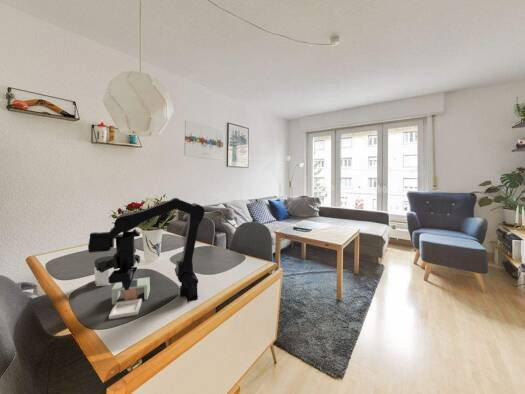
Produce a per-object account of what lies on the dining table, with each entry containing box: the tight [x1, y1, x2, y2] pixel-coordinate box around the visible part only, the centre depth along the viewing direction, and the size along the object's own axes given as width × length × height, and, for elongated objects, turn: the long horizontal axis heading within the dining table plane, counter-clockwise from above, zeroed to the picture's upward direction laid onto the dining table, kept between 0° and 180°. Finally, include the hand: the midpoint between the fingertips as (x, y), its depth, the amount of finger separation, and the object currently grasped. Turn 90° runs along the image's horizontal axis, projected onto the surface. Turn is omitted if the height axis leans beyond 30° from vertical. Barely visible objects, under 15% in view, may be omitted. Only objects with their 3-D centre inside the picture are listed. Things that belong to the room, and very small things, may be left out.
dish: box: [108, 298, 143, 320], centre depth 79 cm, size 9×9×1 cm
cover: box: [110, 277, 151, 306], centre depth 87 cm, size 12×7×8 cm, turn 110°
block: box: [123, 288, 139, 301], centre depth 86 cm, size 4×4×5 cm
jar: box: [93, 255, 118, 287], centre depth 99 cm, size 9×8×12 cm
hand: (127, 289), depth 80 cm, fingers closed
